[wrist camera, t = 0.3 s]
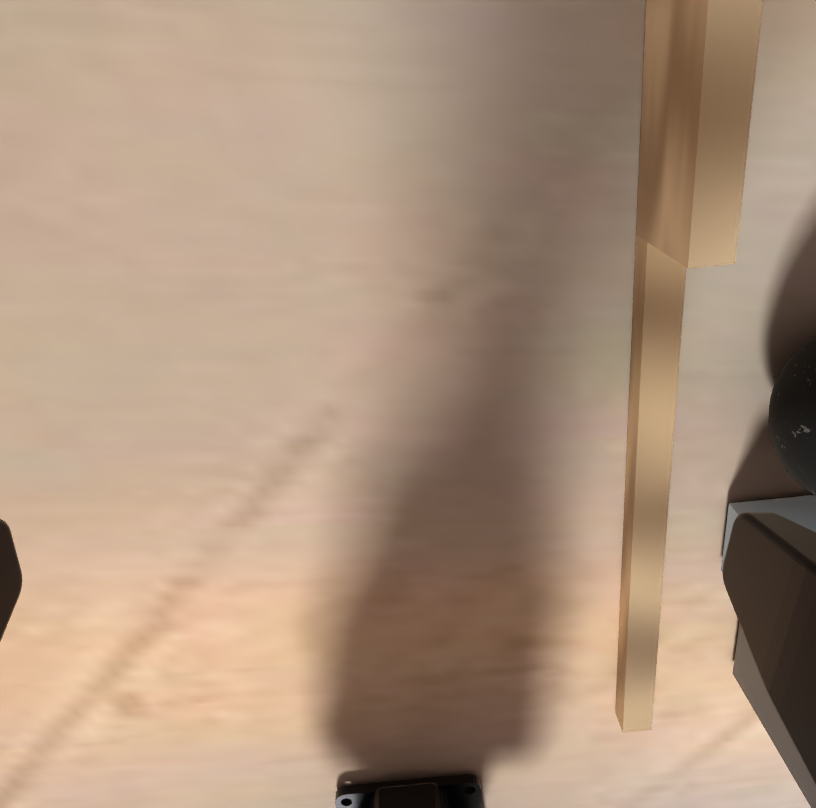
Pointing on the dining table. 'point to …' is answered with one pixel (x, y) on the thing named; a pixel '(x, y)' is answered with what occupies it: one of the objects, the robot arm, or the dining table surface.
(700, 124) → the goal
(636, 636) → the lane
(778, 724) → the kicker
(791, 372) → the billiard ball
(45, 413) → the dining table surface
